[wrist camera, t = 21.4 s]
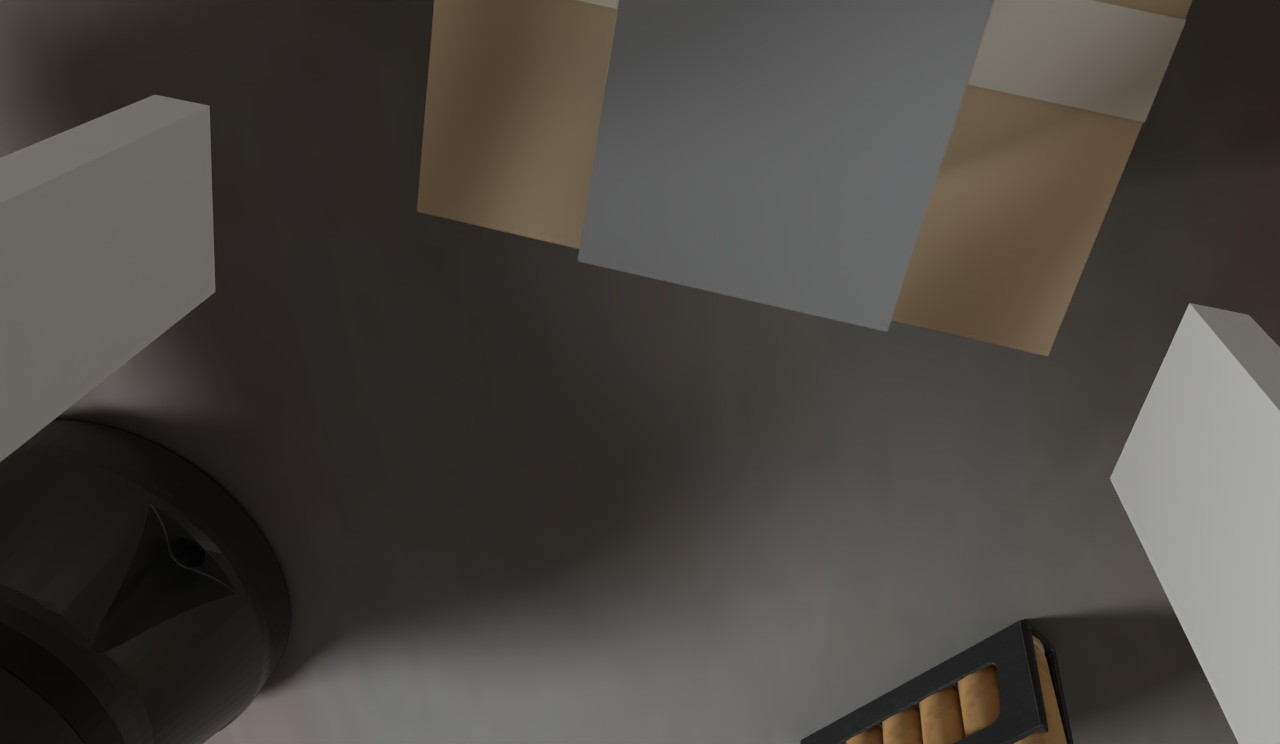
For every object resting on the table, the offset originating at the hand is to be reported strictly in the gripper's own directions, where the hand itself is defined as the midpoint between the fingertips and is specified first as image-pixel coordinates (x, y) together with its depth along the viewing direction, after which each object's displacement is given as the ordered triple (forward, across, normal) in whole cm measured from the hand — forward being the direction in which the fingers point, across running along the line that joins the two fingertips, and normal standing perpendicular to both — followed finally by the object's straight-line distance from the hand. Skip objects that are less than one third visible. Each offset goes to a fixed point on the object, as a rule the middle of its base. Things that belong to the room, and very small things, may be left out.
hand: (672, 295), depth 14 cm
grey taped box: (+9, +1, +3) cm, 10 cm away
